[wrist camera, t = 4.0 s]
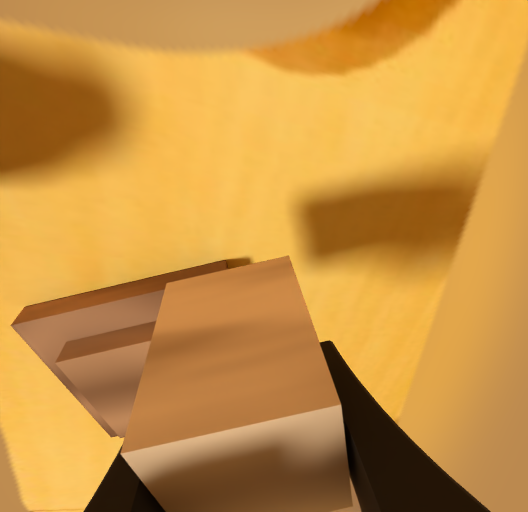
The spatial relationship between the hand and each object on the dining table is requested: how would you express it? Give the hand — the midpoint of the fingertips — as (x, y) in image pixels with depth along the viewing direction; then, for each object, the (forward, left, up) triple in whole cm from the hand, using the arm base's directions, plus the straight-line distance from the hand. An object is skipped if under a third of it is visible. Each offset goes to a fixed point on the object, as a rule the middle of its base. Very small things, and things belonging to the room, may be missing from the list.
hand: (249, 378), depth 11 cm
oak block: (+1, 0, -3) cm, 3 cm away
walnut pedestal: (-7, +7, -9) cm, 13 cm away
